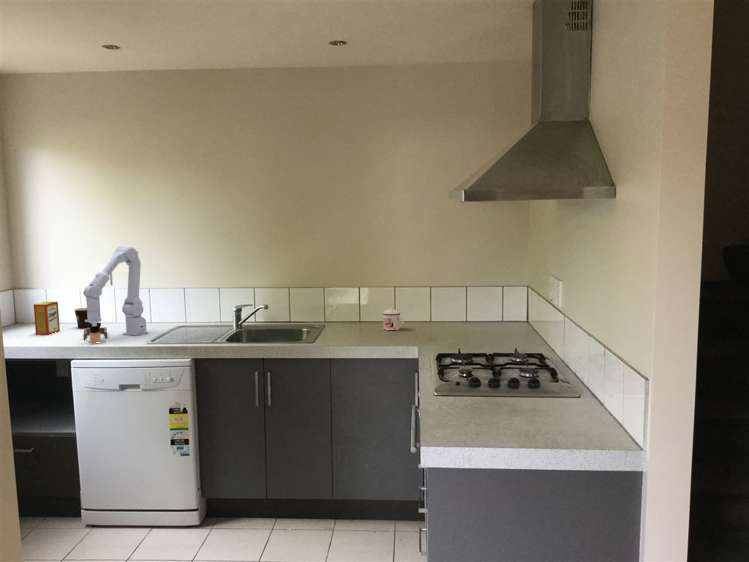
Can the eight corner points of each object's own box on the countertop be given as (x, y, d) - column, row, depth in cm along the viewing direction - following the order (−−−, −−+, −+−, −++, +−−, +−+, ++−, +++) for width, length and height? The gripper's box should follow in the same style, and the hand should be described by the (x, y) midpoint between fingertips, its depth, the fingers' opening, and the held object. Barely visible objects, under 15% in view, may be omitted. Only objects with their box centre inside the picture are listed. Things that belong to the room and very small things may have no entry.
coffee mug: (76, 326, 325) (74, 308, 324) (93, 325, 329) (92, 307, 327) (75, 330, 315) (74, 311, 313) (93, 329, 318) (92, 310, 317)
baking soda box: (47, 335, 304) (45, 303, 302) (35, 335, 305) (33, 303, 303) (59, 331, 313) (57, 300, 311) (48, 331, 314) (45, 300, 312)
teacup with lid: (379, 329, 311) (379, 307, 309) (389, 327, 318) (389, 305, 316) (398, 332, 303) (398, 309, 302) (408, 329, 310) (408, 307, 309)
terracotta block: (90, 342, 287) (89, 333, 287) (100, 341, 289) (99, 332, 289) (90, 344, 283) (89, 334, 283) (100, 343, 285) (99, 333, 285)
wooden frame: (84, 334, 304) (84, 329, 303) (107, 333, 308) (106, 327, 308) (83, 340, 292) (83, 334, 291) (107, 338, 296) (107, 332, 295)
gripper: (84, 308, 293) (86, 336, 294) (84, 313, 280) (86, 342, 281) (100, 307, 296) (102, 335, 297) (100, 312, 282) (102, 340, 284)
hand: (95, 338), depth 289 cm, fingers closed
